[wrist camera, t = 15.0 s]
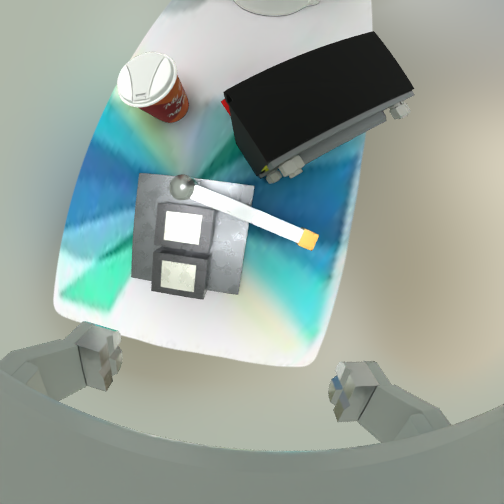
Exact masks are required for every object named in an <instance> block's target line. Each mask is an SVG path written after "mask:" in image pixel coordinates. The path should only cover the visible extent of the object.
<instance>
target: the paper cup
mask: <svg viewBox="0 0 504 504" xmlns="http://www.w3.org/2000/svg"><path fill="white" fill-rule="evenodd" d="M117 87H118V93H119V96H120V98H121V99H122V101H123V102H124V103H126V104H127V105H129V106H132V107H138V108H140V109H141V110H143V111H145V112H147V113H149V114H150V115H152V116H154V117H156V118H157V119H159V120H161V121H164V122H168V123H172V122H176V121H178V120H180V119H181V118H182V117H184V115H185V114H186V113H187V110H188V106H189V103H188V99H187V96H186V94H185V91H184V89H183V87H182V84H181V82H180V80H179V78H178V75H177V68H176V65H175V63H174V61H173V60H172V59H171V58H170V57H169V56H167V55H165V54H161V53H157V52H146V53H143V54H140V55H138V56H136V57H134V58H133V59H131V60H130V61H129V62H128V63H126V64H125V65H124V67H123V68H122V70H121V72H120V74H119V76H118V81H117Z"/></svg>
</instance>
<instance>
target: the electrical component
mask: <svg viewBox="0 0 504 504" xmlns="http://www.w3.org/2000/svg"><path fill="white" fill-rule="evenodd" d="M412 89H414V88H413V86H412V84H411V82H410V81H409V79H408V78H407V76H406V75H405V73H404V72H403V70H402V69H401V67H400V66H399V64H398V63H397V61H396V60H395V58H394V57H393V55H392V54H391V53H390V51H389V50H388V49H387V48H386V46H385V45H384V43H383V42H382V41H381V39H380V38H379V37H378V36H377V35H376V33H375V32H374V31H373V32H369V33H365V34H361V35H358V36H354V37H351V38H348V39H344V40H341V41H338V42H335V43H332V44H329V45H326V46H323V47H320V48H318V49H315V50H312V51H309V52H307V53H304V54H302V55H299V56H297V57H294V58H292V59H289V60H287V61H285V62H282V63H280V64H278V65H276V66H273V67H271V68H269V69H267V70H265V71H263V72H261V73H258V74H256V75H254V76H252V77H250V78H248V79H246V80H244V81H242V82H241V83H239V84H237V85H235V86H233V87H231V88H229V89H227V90H226V91H225V92H224V97H225V99H224V100H222V101H221V103H222V104H223V106H224V107H225V109H226V110H227V112H228V113H229V115H230V116H231V120H232V126H233V131H234V136H235V141H236V144H237V146H238V147H239V149H240V150H241V152H242V154H243V155H244V157H245V158H246V160H247V161H248V163H249V165H250V166H251V168H252V169H253V171H254V172H255V174H256V176H259V177H260V179H261V178H262V177H264V176H266V179H267V181H268V183H269V184H271V183H275V182H277V181H278V180H280V178H281V177H282V175H281V173H282V174H283V176H284V177H286V176H288V175H289V177H290V178H292V177H294V176H296V175H298V174H300V173H301V172H303V171H302V169H301V168H302V167H303V166H304V165H305V164H307V163H309V162H311V161H312V160H314V159H316V158H318V157H319V156H321V155H323V154H325V153H327V152H328V151H330V150H332V149H334V148H336V147H338V146H339V145H341V144H343V143H345V142H347V141H349V140H351V139H353V138H354V137H356V136H358V135H360V134H362V133H364V132H366V131H368V130H370V129H371V128H373V127H375V126H377V125H379V124H381V123H383V122H385V121H386V116H385V114H384V112H383V110H385V109H387V108H390V113H391V115H392V116H393V118H394V119H397V118H399V119H401V118H403V117H405V116H407V115H408V113H410V109H409V107H408V105H407V104H406V103H404V102H403V101H404V100H405V99H407V98H410V97H412V96H414V93H413V92H412ZM278 168H279V170H280V171H281V173H280V172H279V171H277V169H278Z"/></svg>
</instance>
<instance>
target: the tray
mask: <svg viewBox="0 0 504 504" xmlns="http://www.w3.org/2000/svg"><path fill="white" fill-rule="evenodd" d="M174 177H175V176H168V175H157V174H145V173H139V181H138V189H137V198H136V207H135V218H134V231H133V247H132V274H131V277H133V278H138V279H143V280H149V281H152V288H151V291H155V292H161V293H167V294H172V295H178V296H184V297H190V298H196V299H204V297H205V294H206V291H207V290H210V291H216V292H223V293H230V294H237V295H238V292H239V285H240V278H241V272H242V265H243V258H244V251H245V245H246V238H247V231H248V225H249V222H247V221H244V220H242V219H240V218H237V217H235V216H232V215H230V214H227V213H225V212H222V211H220V210H218V209H215V208H213V207H210V206H208V205H205V204H203V203H200V202H198V201H195V200H193V199H188V200H177V199H175V198H174V197H172V195H171V194H170V191H169V185H170V182H171V180H172V179H173V178H174ZM194 179H195V181H196V183H197V185H199V186H201V187H204V188H206V189H209V190H211V191H214V192H216V193H219V194H221V195H224V196H226V197H229V198H231V199H234V200H236V201H239V202H241V203H244V204H246V205H248V206H251V205H252V199H253V192H254V186H250V185H243V184H236V183H229V182H221V181H214V180H205V179H197V178H194Z"/></svg>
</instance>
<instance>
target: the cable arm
mask: <svg viewBox="0 0 504 504" xmlns="http://www.w3.org/2000/svg"><path fill="white" fill-rule="evenodd" d="M169 191H170V194H171V195H172V197H174V198H175V199H177V200H188V199H193V200H195V201H198V202H200V203H203V204H205V205H208V206H210V207H213V208H215V209H218V210H220V211H222V212H225V213H227V214H230V215H232V216H235V217H237V218H240V219H242V220H244V221H247V222H249V223H252V224H254V225H256V226H259V227H261V228H264V229H266V230H268V231H271V232H273V233H275V234H278V235H280V236H283V237H285V238H287V239H290V240H292V241H294V242H296V244H297V245H299V246H301V247H304V248H306V249H308V250H311V251H312V250H313V248H314V245H315V243H316V241H317V239H318V237H319V235H318V234H316V233H315V232H312V231H310V230H308V229H306V228H303V227H301V228H300V227H297V226H295V225H293V224H290V223H288V222H286V221H284V220H281V219H279V218H277V217H274V216H272V215H270V214H267V213H265V212H263V211H260V210H258V209H256V208H253V207H251V206H248V205H246V204H244V203H241V202H239V201H236V200H234V199H231V198H229V197H226V196H224V195H221V194H219V193H216V192H214V191H211V190H209V189H206V188H204V187H201V186H199V185H197V183H196V181H195V179H194V178H192V177H190V176H187V175H177V176H175V177H174V178H173V179H172V180H171V182H170V185H169Z"/></svg>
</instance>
